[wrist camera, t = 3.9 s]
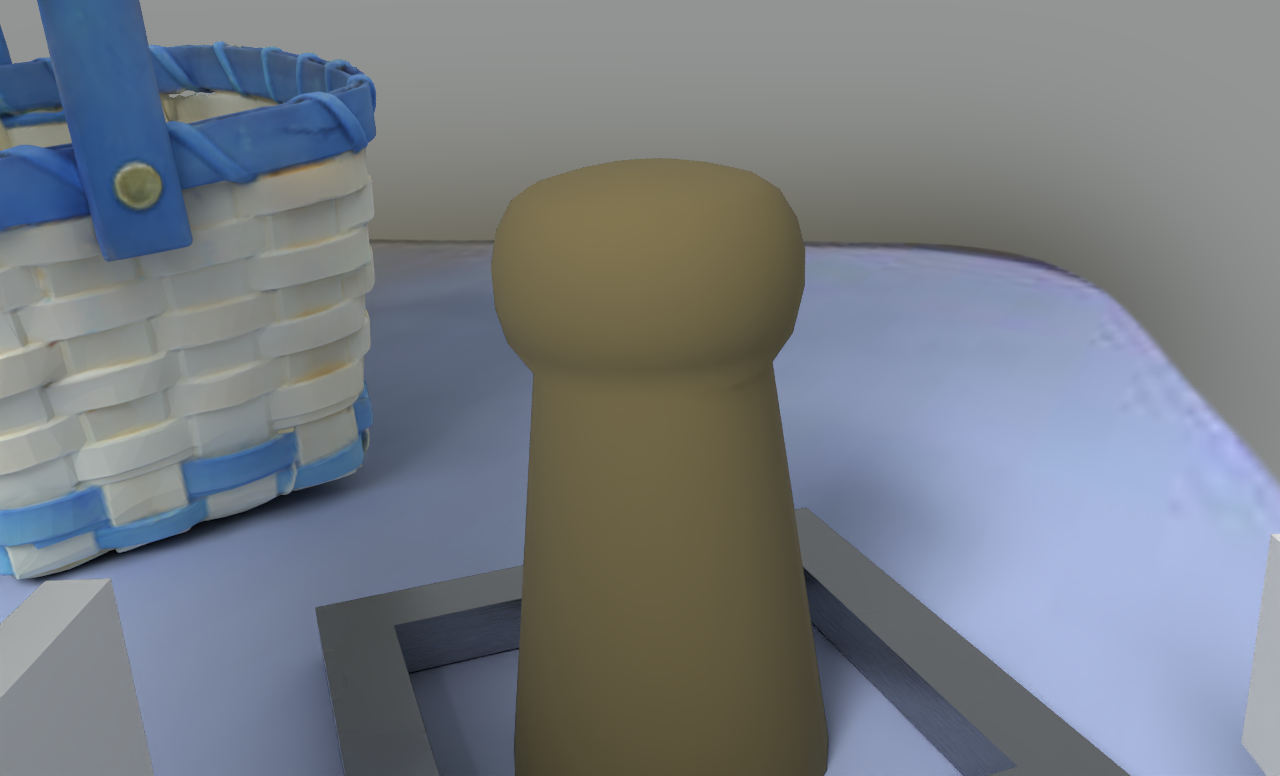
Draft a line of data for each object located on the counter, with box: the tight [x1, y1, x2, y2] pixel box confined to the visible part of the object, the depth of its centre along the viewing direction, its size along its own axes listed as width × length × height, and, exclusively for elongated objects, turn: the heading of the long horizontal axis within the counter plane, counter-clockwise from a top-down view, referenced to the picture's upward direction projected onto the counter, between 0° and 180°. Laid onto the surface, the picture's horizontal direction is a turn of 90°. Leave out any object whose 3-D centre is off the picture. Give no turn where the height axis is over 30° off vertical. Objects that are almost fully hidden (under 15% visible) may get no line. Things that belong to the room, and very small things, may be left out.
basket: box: [0, 0, 376, 580], centre depth 32 cm, size 21×16×24 cm
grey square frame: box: [315, 508, 1130, 776], centre depth 22 cm, size 12×12×1 cm
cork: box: [491, 158, 828, 776], centre depth 21 cm, size 6×6×11 cm
